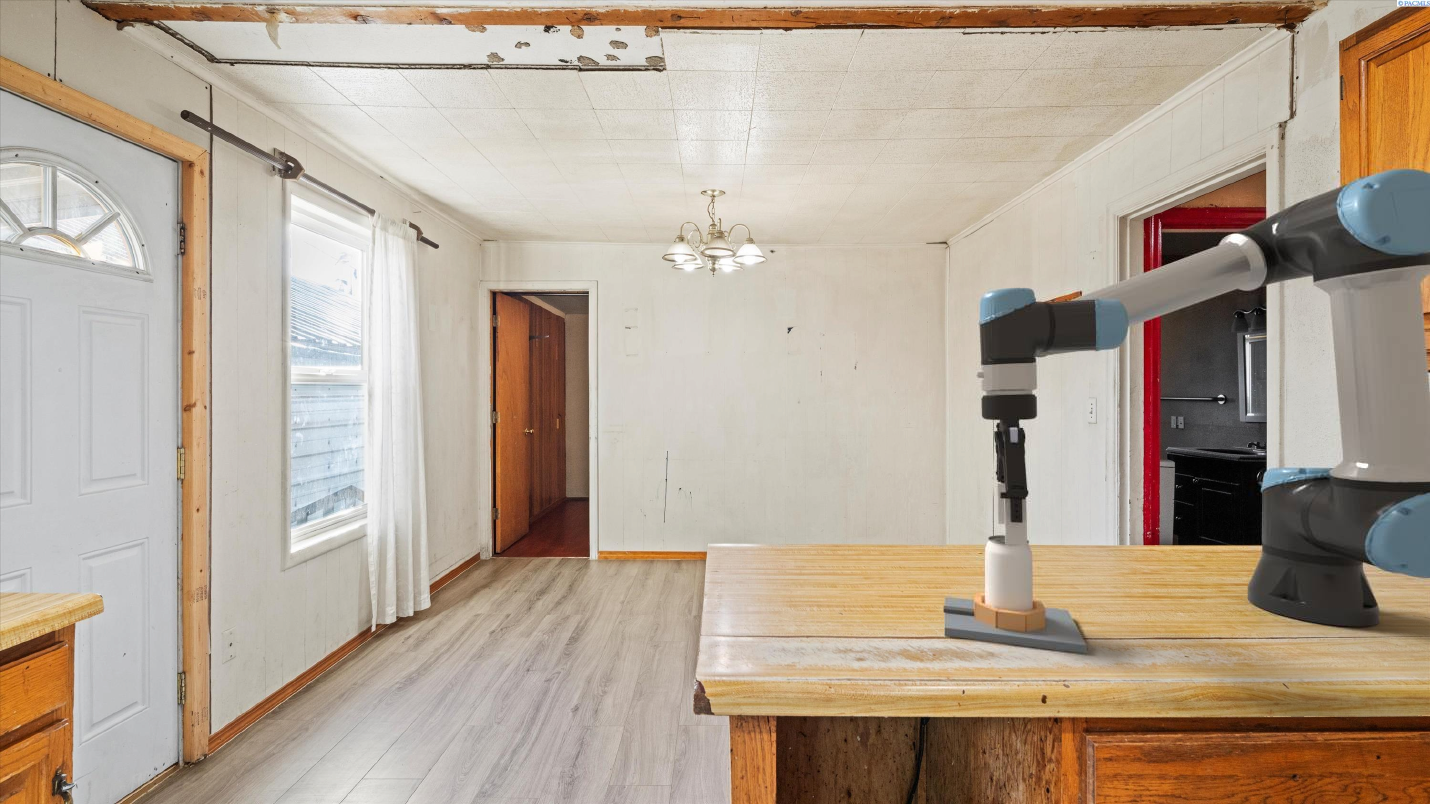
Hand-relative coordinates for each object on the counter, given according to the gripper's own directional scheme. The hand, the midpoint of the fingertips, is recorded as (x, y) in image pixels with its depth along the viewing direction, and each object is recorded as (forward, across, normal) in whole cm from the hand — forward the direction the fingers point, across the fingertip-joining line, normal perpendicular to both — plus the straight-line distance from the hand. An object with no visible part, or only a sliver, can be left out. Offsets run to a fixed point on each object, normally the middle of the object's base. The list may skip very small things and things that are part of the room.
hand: (1011, 533), depth 92 cm
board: (+14, 0, -1) cm, 14 cm away
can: (+13, 0, -1) cm, 13 cm away
